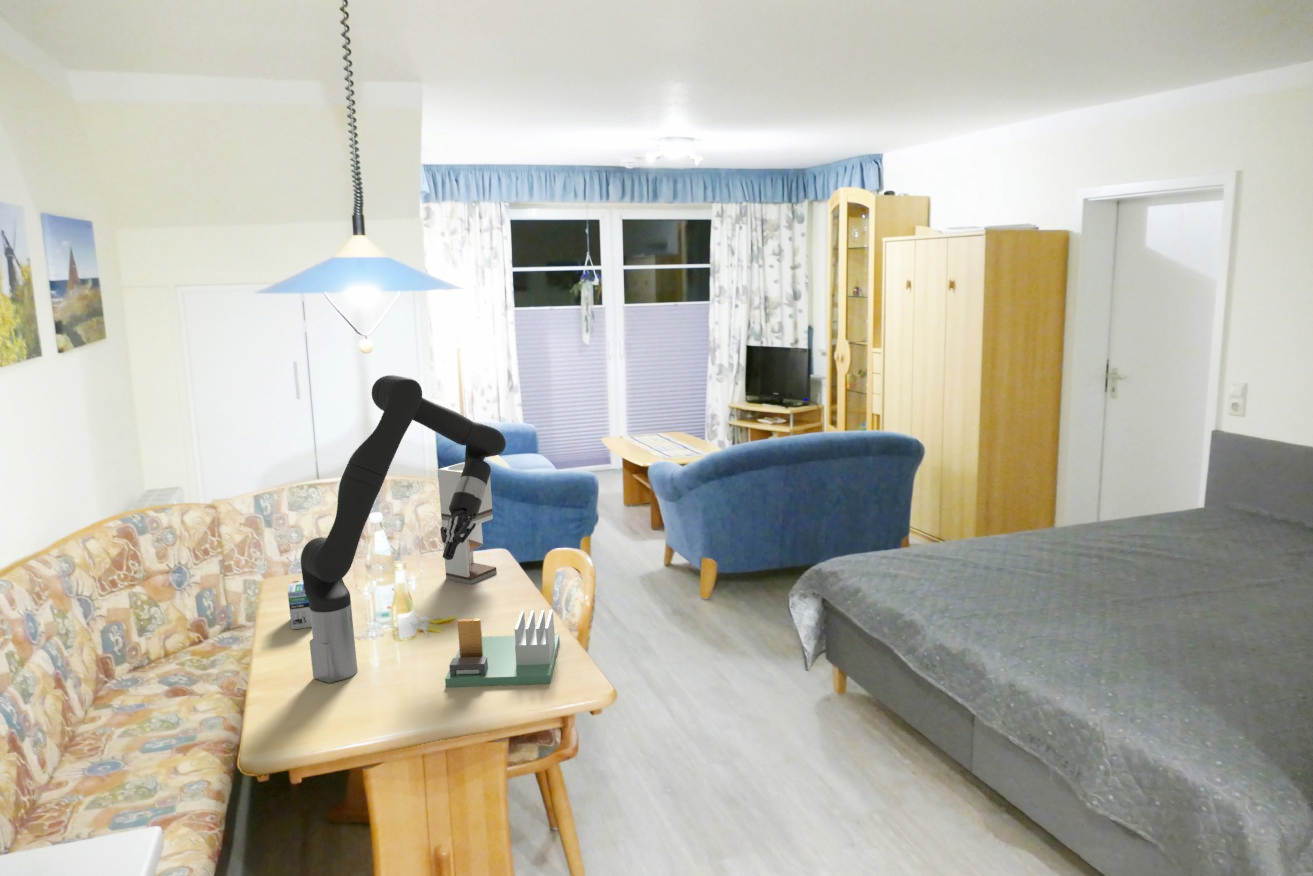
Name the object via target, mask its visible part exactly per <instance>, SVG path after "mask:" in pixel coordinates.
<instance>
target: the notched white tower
mask: <svg viewBox="0 0 1313 876" xmlns="http://www.w3.org/2000/svg"><path fill="white" fill-rule="evenodd" d="M464 466H465V461H463V462H459V463H456V464H452V465H449V466H445V467H441V468H437V479H438V492H439V505H440V517H441V527H442V526H443V527H446V526H447V525H448V521H449V519H450V517H451V513H450V511H449V506H450V503H451V500H452V497H453V494H454V491H455V489H456V486H457V484H458V482H459V480H460V477H461V474H462V472H463V469H464ZM491 481H492V480H491V475H490V476H489V479H488V482H487V485H486V489H485V494H484V497H483V500H482V503H481V506H480V509H479V512H478V515H477V517H476V518H475V519H473V520H472V522H474V523H476V526H475V528H474V529H473V530H472V532H471V533H470V534H469V536H468V537H467V538H466V540H465V541H464V542H463V543H461V542H460V544H459V546H457V548H456V551H455V554H454V556H453V559H451V560H447V559H445V558H444V567H445V569H444V571H445V578H446V580H450V581H454V582H459V583H462V584H463V583H464V584H467V585H472V584H475V583H477V582H479V581H483V580H485V579H487V578H489V577H492V576H494V575H497V574H498V572H497V566H494V565H493V566H491V565H486V564H483V563H477V562H475V561H474V551H475V550H477V549H479V548H481V547H483V546H484V541H483V540H484V539H483V526H482V524H483V523H485V522H488V521H491V520H493V519H494V515H493V513H494V512H493V501H492V500H493V497H492V484H491V483H492V482H491ZM442 544H443V551H444V550H445V547H446V544H445V543H444V542H442Z"/></svg>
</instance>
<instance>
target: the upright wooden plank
mask: <svg viewBox="0 0 1313 876" xmlns="http://www.w3.org/2000/svg"><path fill="white" fill-rule="evenodd" d="M481 620H482V618H465V619H458V620H457V631H458V645H459V647H458V648H459V649H460V658H463V657H483V645H482V637H483V635H482V634H483V633H482V621H481ZM456 671H457V674H479V673H480V669H465V670H456Z"/></svg>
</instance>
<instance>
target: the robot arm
mask: <svg viewBox="0 0 1313 876" xmlns="http://www.w3.org/2000/svg"><path fill="white" fill-rule="evenodd" d="M371 399H372V402H373V403H374V404H375V406H376V407H377V408H379V409H380V410H381V411H383V412H382V415H381V417H380V420H379V422H378V424H377V425H376V427H375V429H374V430H373V431H372V433H371V434H370V435H369V436H368V437H366V439H365V440H364V441H363V442H362V443H361V444H360V445H359V446H358V447H357V448H356V449H355V451H354V452H353V453H352V455H351V456H350V458H349V460H348V462H347V464H346V466H345V469H344V472H343V473H342V475H341V479H340V482H339V485H338V489H337V490H338V492H337V506H336V513H335V514H336V515H335V519H334V521H333V525H332V526H331V529H330V531H329V532H328V536H327V537H325V536H323V537H322V536H320V537H316V538H313V539H311V540H310V541H308V542H307V543H306V544H305V546H304V547H303V549H302V551H301V554H300V555H301V556H300V568H301V576H302V580H303V584H304V590H305V594H306V597H307V599H308V601H309V607H310V615H311V625H312V627H311V632H312V633H311V635H312V638H311V639H310V640H309V649H310V651H309V652H310V658H311V659H310V660H311V667H312V669H311V670H312V678H313V679H315V680H319V681H322V682H324V683H328V684H331V683H333V682H339V681H343V680H347V679H349V678H352V677H353V676H355V674H357V672H358V660H357V651H356V642H355V631H354V630H355V629H354V621H353V611H352V600H351V593H350V590H349V589H348V588H347V586H346V584H345V583H344V580H343V578H344V577H345V576H346V575H347V574H348V572H349V571H350V569H351V567H352V565H353V562H354V559H355V557H356V553H357V549H358V546H359V542H360V539H361V536H362V533H363V531H364V527H365V525H366V524H367V521H368V518H369V516H370V514H371V511H372V509H373V506H374V503H375V501H376V499H377V497H378V495H379V493H380V491H381V489H382V486H383V485H384V482H385V479H386V477H387V474H388V471H389V469H390V467H391V464H392V462H393V459H394V458H395V455H396V453H397V451H398V449H399V447H400V444H401V442H402V440H403V438H404V436H405V434H406V432H407V430H408V429H409V427H410V425H411V423H412V422H413V421H414V422H416V423H418V424H421V425H422V426H424V427H426V428H428V429H429V430H432V431H434V432H435V433H437V434H439V435H441V436H442V437H445V438H446V439H448V440H450V441H451V442H453V443H456V444H458V445H461V446H465V450H464V451H465V453H464V454H465V455H464V462H465V466H464V469H463V472H462V474H461V477H460V480H459V482H458V484H457V486H456V489H455V491H454V494H453V497H452V500H451V503H450V506H449V511H450V513H451V517H450V519H449V521H448V525H447V526H446V527H443V526H442V525H441V527H440V531H439V532H440V537H441V543H443V542H444V543H445V544H446V547H445V550H444V549H443V552H442V558H443V559H444V560H445V559H447V560H451V559H453V556H454V554H455V551H456V548H457V546H459V544H460V542H461V543H463V542H464V541H465V540H466V538H467V537H468V536H469V534H470V533H471V532H472V530H473V529H474V528H475V526H476V523H474V522H472V520H473V519H475V518H476V517H477V515H478V512H479V509H480V506H481V503H482V500H483V497H484V494H485V489H486V485H487V482H488V479H489V476H490V477H491V472H492V468H491V465H490V464H489V463H488V462H487V461H485V459H486V458H489V457H496V456H498V455H500V454H502V453H503V452H504V451H505V448H506V445H507V441H506V438H505V437H504V434H503V433H502V432H501V431H500V430H498V429H496V428H495V427H492V426H491V425H490V426H489V425H486V424H482V423H481V422H480V423H479V422H475V421H473V420H471V419H470V418H467V417H466V416H464V415H462V414H460V413H458V412H456V411H454V410H452V409H450V408H448V407H445V406H442V405H441V404H438V403H435V402H432V401H430V400H428V399H426V398H425V397H423V390H422V387H421V385H420V383H419V382H418V381H416V379H414V378H410V377H405V376H400V375H399V376H398V375H394V374H393V375H384V376H380V378H378V379H376V381H375V382H374V384H373V385H372V388H371Z"/></svg>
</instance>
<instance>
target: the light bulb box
mask: <svg viewBox="0 0 1313 876" xmlns="http://www.w3.org/2000/svg"><path fill="white" fill-rule="evenodd" d="M287 598H288V605H289V614H290V615H289V616H290V624H291V630H292V629H293V630H299V629H306V628H312V625H311V615H310V607H309V601H308V599H307V597H306V594H305V590H304V584H303V579H296V580H294V579H293V580H289V582H288V588H287Z"/></svg>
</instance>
